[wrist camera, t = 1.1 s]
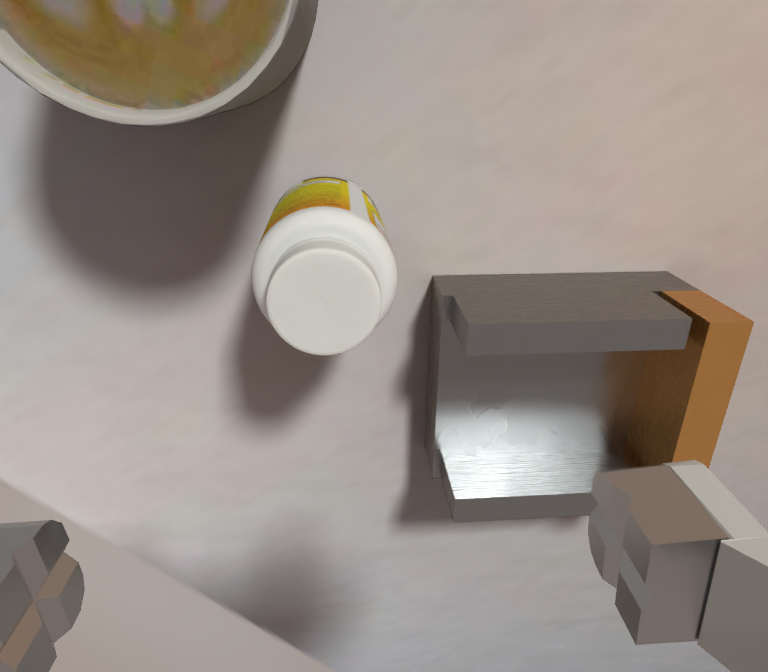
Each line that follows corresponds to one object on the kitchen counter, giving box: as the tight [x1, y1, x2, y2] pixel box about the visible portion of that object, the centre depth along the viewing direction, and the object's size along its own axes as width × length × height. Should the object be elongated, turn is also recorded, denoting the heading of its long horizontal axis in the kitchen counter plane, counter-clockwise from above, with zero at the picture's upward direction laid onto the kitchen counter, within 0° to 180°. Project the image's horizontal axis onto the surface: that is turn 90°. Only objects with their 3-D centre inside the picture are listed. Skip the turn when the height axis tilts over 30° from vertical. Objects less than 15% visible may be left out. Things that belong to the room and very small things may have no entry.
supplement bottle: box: [252, 176, 397, 355], centre depth 24 cm, size 6×6×10 cm
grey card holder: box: [425, 271, 754, 522], centre depth 29 cm, size 13×11×7 cm
